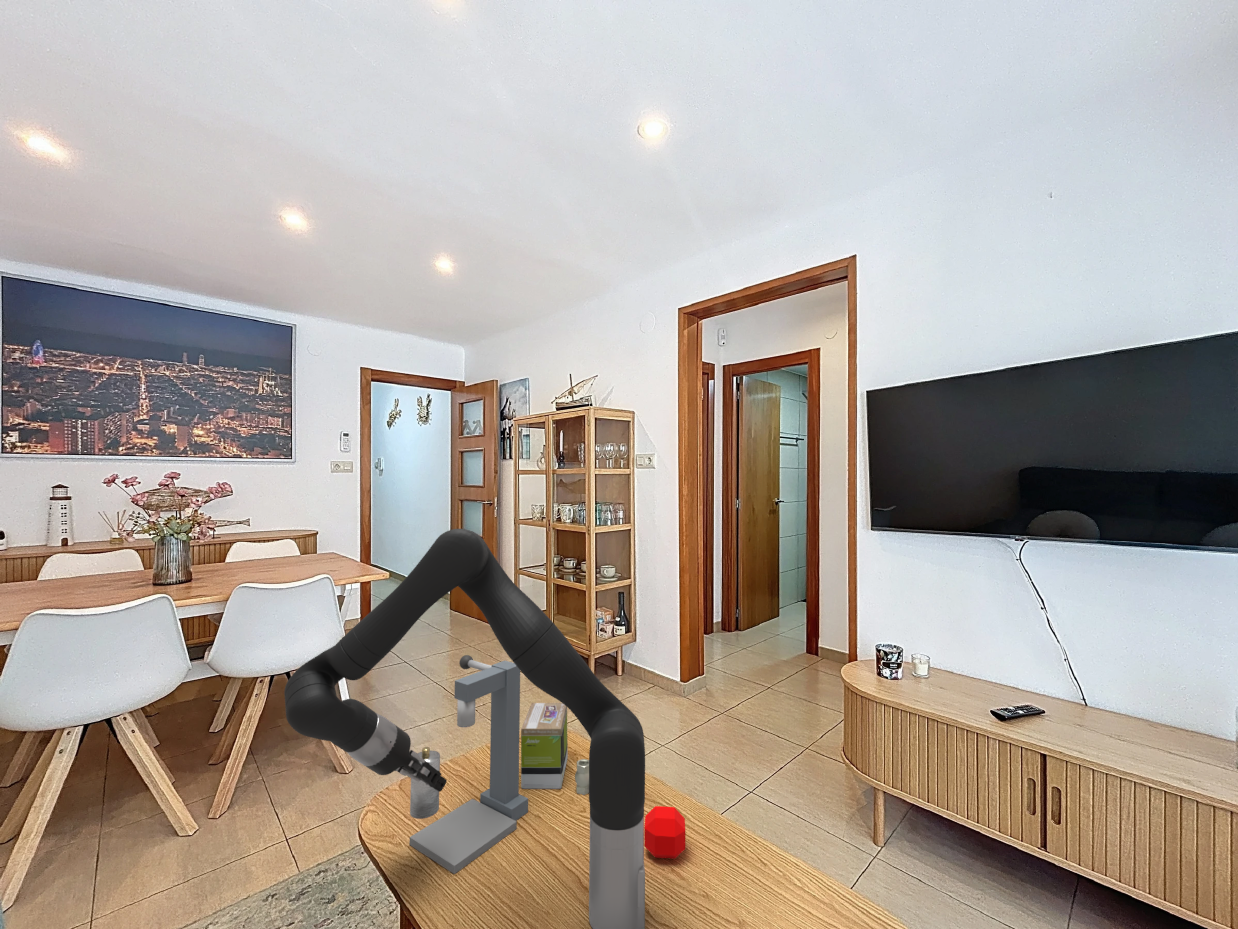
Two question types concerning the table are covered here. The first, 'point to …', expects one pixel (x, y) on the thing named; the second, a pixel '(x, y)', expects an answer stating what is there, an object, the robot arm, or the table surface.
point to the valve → (582, 776)
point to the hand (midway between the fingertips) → (433, 780)
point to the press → (501, 804)
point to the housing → (425, 789)
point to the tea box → (544, 746)
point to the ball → (664, 832)
